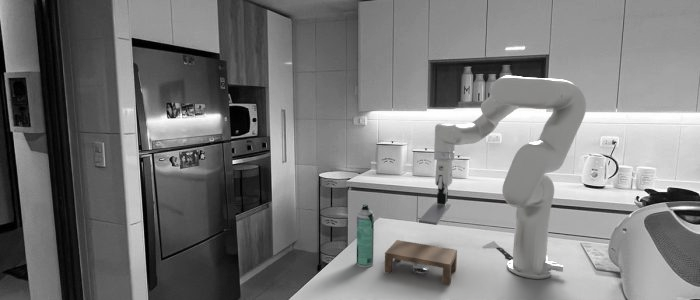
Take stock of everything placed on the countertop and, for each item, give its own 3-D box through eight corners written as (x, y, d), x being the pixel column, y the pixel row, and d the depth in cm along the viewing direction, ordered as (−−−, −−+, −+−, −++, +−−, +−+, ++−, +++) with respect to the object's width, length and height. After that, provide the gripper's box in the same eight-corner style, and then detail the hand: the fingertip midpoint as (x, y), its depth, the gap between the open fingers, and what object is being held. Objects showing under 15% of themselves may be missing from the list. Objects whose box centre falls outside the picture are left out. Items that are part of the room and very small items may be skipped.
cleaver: (488, 261, 127) (517, 261, 127) (488, 259, 127) (518, 259, 127) (461, 232, 156) (485, 232, 156) (461, 231, 156) (485, 230, 156)
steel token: (430, 270, 120) (430, 266, 120) (426, 276, 116) (426, 273, 115) (415, 267, 122) (415, 263, 122) (410, 273, 118) (411, 269, 118)
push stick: (450, 206, 146) (451, 186, 145) (436, 225, 124) (437, 202, 123) (434, 204, 149) (435, 185, 148) (418, 222, 126) (419, 200, 125)
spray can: (375, 262, 125) (376, 204, 122) (369, 268, 120) (370, 208, 118) (360, 259, 127) (361, 202, 125) (353, 265, 122) (354, 206, 120)
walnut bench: (456, 269, 120) (457, 249, 119) (449, 285, 109) (450, 264, 108) (396, 258, 128) (396, 239, 128) (384, 272, 118) (384, 252, 117)
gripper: (450, 159, 135) (448, 209, 137) (457, 153, 149) (455, 198, 152) (429, 158, 138) (427, 206, 140) (438, 152, 152) (437, 196, 155)
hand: (442, 202), depth 146 cm, fingers closed on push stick, 3 cm apart
